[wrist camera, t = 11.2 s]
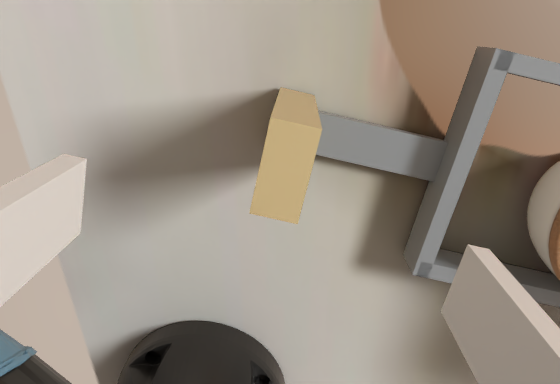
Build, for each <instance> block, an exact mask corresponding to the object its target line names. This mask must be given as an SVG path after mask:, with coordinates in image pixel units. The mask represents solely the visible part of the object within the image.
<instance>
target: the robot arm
mask: <svg viewBox="0 0 560 384" xmlns="http://www.w3.org/2000/svg"><path fill="white" fill-rule="evenodd" d="M86 163H87V159H85V158H81V157H76V156H72V155H67V154H62V155H60V156H58V157H57V158H55V159H53V160H51V161H49V162H47V163H45V164H43V165H41V166H39V167H37V168H35V169H33V170H31V171H29V172H28V173H26V174H24V175H22V176H20V177H18V178H16V179H14V180H12V181H10V182H8V183H6V184H5V185H2V186H0V307H1V306H2V305H3V304H4V303H5V302H6V301H8V300H9V299H10V298H11V297H12V296H13V295H14V294H15V293H16V292H17V291H18V290H19V289H20V288H22V287H23V286H24V285H25V284H26V283H27V282H28V281H29V280H30V279H31V278H32V277H33V276H34V275H36V274H37V273H38V272H39V271H40V270H41V269H42V268H43V267H44V266H45V265H46V264H48V263H49V262H50V261H51V260H52V259H53V258H54V257H55V256H56V255H57V254H58V253H59V252H61V251H62V250H63V249H64V248H65V247H66V246H67V245H68V244H69V243H70V242H71V241H72V240H74V239H75V238H76V237H77V236H78V235H79V234H80V233H81V222H82V210H83V198H84V186H85V175H86ZM441 313H442V315H443V317H444V319H445V321H446V323H447V325H448V327H449V329H450V331H451V333H452V335H453V336H454V338H455V340H456V342H457V344H458V346H459V348H460V350H461V352H462V354H463V356H464V358H465V360H466V362H467V364H468V366H469V367H470V369H471V371H472V373H473V375H474V377H475V379H476V381H477V383H478V384H560V328H559V327H558V326H557V325H556V324H555V323H554V321H553V320H552V319H551V318H550V317H549V316H548V315H547V314H546V312H545V311H544V310H543V309H542V308H541V307H540V306H539V305H538V303H537V302H536V301H535V300H534V299H533V298H532V297H531V296H530V294H529V293H528V292H527V291H526V290H525V289H524V288H523V287H522V285H521V284H520V283H519V282H518V281H517V280H516V279H515V278H514V276H513V275H512V274H511V273H510V272H509V271H508V270H507V269H506V267H505V266H504V265H503V264H502V263H501V262H500V261H499V260H498V258H497V257H496V256H495V255H494V254H493V253H492V252H491V251H490V249H487V248H482V247H478V246H473V245H469V244H468V245H467V247H466V250H465V252H464V255H463V257H462V259H461V262H460V264H459V267H458V269H457V272H456V274H455V277H454V279H453V282H452V284H451V287H450V289H449V292H448V294H447V296H446V299H445V301H444V304H443V306H442V309H441ZM36 352H37V351H36V350H34V349H33V348H32V347H28V346H27V347H25V346H23V345H22V344H20V343H19V342H17V341H16V340H15V339H13V338H12V337H10V336H9V335H7V334H6V333H5V332H3V331H2V330H0V384H71V383H70V382H69V381H68V380H66V379H65V378H64V377H63V376H61V375H60V374H59V373H57V372H56V371H55V370H54V369H53V368H51V367H50V366H49V365H48V364H46V363H45V362H44V361H43V360H41V359H40V358H39V357H38V356H36V355H35V353H36ZM117 384H285V382H284V377H283V374H282V372H281V369H280V367H279V365H278V363H277V362H276V360H275V359H274V357H273V356H272V355H271V353H270V352H269V351H268V350H267V349H266V348H265V347H264V346H263V345H262V344H261V343H259V342H258V341H257V340H255V339H254V338H253V337H251V336H249V335H248V334H246V333H244V332H242V331H240V330H238V329H235V328H233V327H230V326H227V325H223V324H219V323H214V322H207V321H188V322H180V323H175V324H172V325H168V326H165V327H163V328H161V329H158V330H156V331H155V332H153V333H151V334H150V335H148V336H147V337H145V338H144V339H143V340H142V341H141V342H140V343H139V344H138V345H137V346H136V347H135V349H134V350H133V351H132V353H131V354H130V356H129V358H128V360H127V362H126V364H125V366H124V368H123V370H122V372H121V374H120V377H119V380H118V383H117Z"/></svg>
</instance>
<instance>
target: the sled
mask: <svg viewBox="0 0 560 384" xmlns="http://www.w3.org/2000/svg"><path fill="white" fill-rule="evenodd" d="M507 73H509V74H514V75H518V76H522V77H526V78H531V79H534V80H538V81H543V82H547V83H551V84H555V85H559V86H560V64H559V63H555V62H551V61H547V60H543V59H539V58H534V57H530V56H526V55H522V54H518V53H513V52H510V51H505V50H501V49H497V48H487V47H477V49H476V52H475V54H474V57H473V60H472V63H471V66H470V68H469V71H468V74H467V77H466V80H465V82H464V85H463V88H462V91H461V94H460V97H459V99H458V102H457V105H456V108H455V110H454V113H453V116H452V119H451V122H450V125H449V127H448V130H447V133H446V136H445V138H444V140H442V139H438V138H434V137H429V136H425V135H421V134H417V133H412V132H408V131H404V130H400V129H395V128H391V127H387V126H382V125H378V124H374V123H370V122H365V121H361V120H357V119H352V118H348V117H344V116H340V115H335V114H331V113H327V112H323V111H318V109H317V104H316V100H315V96H314V95H311V94H307V93H303V92H299V91H294V90H290V89H286V88H282V87H280V90H279V93H278V96H277V99H276V102H275V105H274V108H273V111H272V114H271V117H270V122H269V126H268V131H267V135H266V140H265V145H264V149H263V154H262V158H261V163H260V167H259V172H258V176H257V181H256V186H255V190H254V195H253V199H252V204H251V208H250V214H255V215H259V216H264V217H268V218H273V219H277V220H281V221H286V222H290V223H295V224H298V221H299V217H300V213H301V209H302V205H303V201H304V198H305V194H306V190H307V186H308V182H309V178H310V175H311V171H312V167H313V163H314V159H315V155H320V156H324V157H328V158H333V159H337V160H341V161H346V162H350V163H354V164H359V165H363V166H367V167H372V168H376V169H380V170H385V171H389V172H393V173H398V174H402V175H407V176H411V177H415V178H420V179H424V180H428V181H429V183H428V186H427V189H426V192H425V194H424V197H423V200H422V203H421V206H420V208H419V211H418V214H417V217H416V220H415V222H414V225H413V228H412V231H411V234H410V236H409V239H408V242H407V245H406V248H405V250H404V253H403V256H404V258H405V260H406V262H407V264H408V267H409V269H410V271H411V273H412V275H415V276H420V277H424V278H429V279H433V280H438V281H442V282H447V283H451V284H452V282H453V279H454V277H455V274H456V272H457V269H458V267H459V264H460V262H461V259H462V257H463V255H464V254H461V253H456V252H452V251H447V250H443V249H439V248H440V246H441V243H442V240H443V238H444V235H445V233H446V230H447V227H448V225H449V222H450V220H451V217H452V214H453V212H454V209H455V207H456V204H457V201H458V199H459V196H460V194H461V191H462V189H463V186H464V183H465V181H466V178H467V176H468V173H469V170H470V168H471V165H472V163H473V160H474V157H475V155H476V152H477V150H478V147H479V144H480V142H481V139H482V137H483V134H484V131H485V129H486V126H487V124H488V121H489V119H490V116H491V113H492V111H493V108H494V105H495V103H496V100H497V98H498V95H499V93H500V90H501V87H502V85H503V82H504V79H505V77H506V74H507ZM502 264H503V265H504V266H505V267H506V269H507V270H508V271H509V272H510V273H511V274H512V275H513V276H514V278H515V279H516V280H517V281H518V282H519V283H520V284H521V285H522V287H523V288H524V289H525V290H526V291H527V292H528V293H529V294H530V296H531V297H532V298H533V299H534V300H535V301H536V302H537V303H542V304H546V305H551V306H555V307H560V281H559V279H558V278H557V277H556V276H555V275H554V274H550V273H545V272H541V271H536V270H532V269H527V268H523V267H518V266H514V265H509V264H505V263H502Z"/></svg>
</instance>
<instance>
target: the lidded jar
mask: <svg viewBox="0 0 560 384" xmlns="http://www.w3.org/2000/svg"><path fill="white" fill-rule="evenodd" d="M527 224H528V231H529V234H530V238H531V240H532V242H533V245H534V247H535V249H536V251H537V253H538V255H539V256H540V257H541V259H542V260H543V262H544V263H545V264H546V266H547V267H548V268H549V269H550V271H551V272H552V273H553V274H554V275H555V276H556V277H557V278H558V279H559V281H560V161H558V162H557V163H555V164H554V165H553V166H552V167H551V168H549V169H548V170H547V171H546V172H545V173H544V175H543V176H542V177H541V178H540V180H539V181H538V183H537V184H536V186H535V188H534V190H533V192H532V194H531V197H530V200H529V204H528V209H527Z"/></svg>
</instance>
